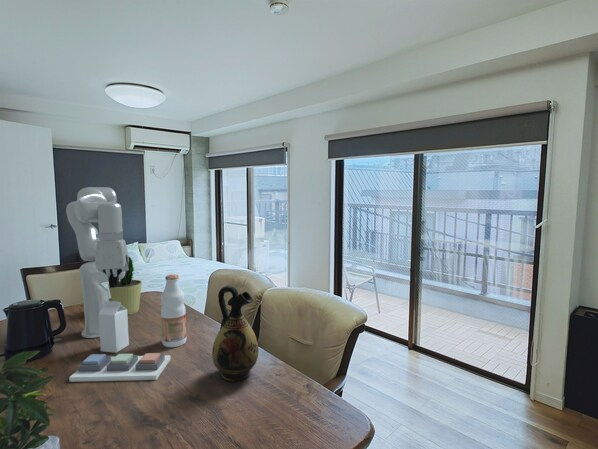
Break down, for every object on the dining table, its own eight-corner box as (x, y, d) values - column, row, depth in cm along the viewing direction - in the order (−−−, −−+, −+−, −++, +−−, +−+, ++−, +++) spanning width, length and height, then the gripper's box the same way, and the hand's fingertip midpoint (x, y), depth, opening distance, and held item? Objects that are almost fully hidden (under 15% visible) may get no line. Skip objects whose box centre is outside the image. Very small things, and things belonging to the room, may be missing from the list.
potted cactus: (114, 307, 185) (111, 252, 182) (145, 305, 188) (142, 250, 186) (105, 317, 170) (102, 257, 167) (139, 315, 174) (136, 256, 171)
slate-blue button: (91, 361, 122) (91, 354, 122) (106, 360, 122) (105, 354, 122) (83, 368, 117) (82, 361, 117) (98, 368, 117) (98, 361, 117)
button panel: (93, 360, 127) (92, 351, 127) (170, 359, 128) (170, 350, 128) (69, 381, 113) (68, 371, 113) (156, 379, 114) (155, 369, 114)
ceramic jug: (266, 366, 122) (265, 283, 119) (245, 390, 108) (243, 296, 105) (224, 359, 128) (222, 279, 125) (199, 380, 113) (196, 291, 110)
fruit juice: (157, 345, 139) (154, 277, 137) (174, 336, 148) (171, 272, 145) (174, 349, 135) (171, 279, 133) (191, 340, 144) (189, 274, 141)
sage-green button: (119, 360, 123) (118, 353, 122) (133, 360, 123) (133, 353, 123) (111, 367, 118) (111, 360, 117) (126, 367, 118) (126, 360, 118)
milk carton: (116, 353, 133) (113, 305, 131) (100, 351, 134) (97, 303, 132) (129, 345, 140) (126, 299, 138) (113, 343, 141) (111, 298, 139)
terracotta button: (146, 360, 123) (145, 353, 123) (160, 359, 123) (160, 353, 123) (140, 367, 118) (139, 360, 118) (155, 366, 118) (154, 359, 118)
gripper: (84, 238, 121) (87, 290, 123) (127, 238, 121) (130, 289, 123) (95, 235, 128) (98, 284, 130) (136, 235, 129) (139, 283, 131)
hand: (114, 286), depth 127 cm, fingers closed
